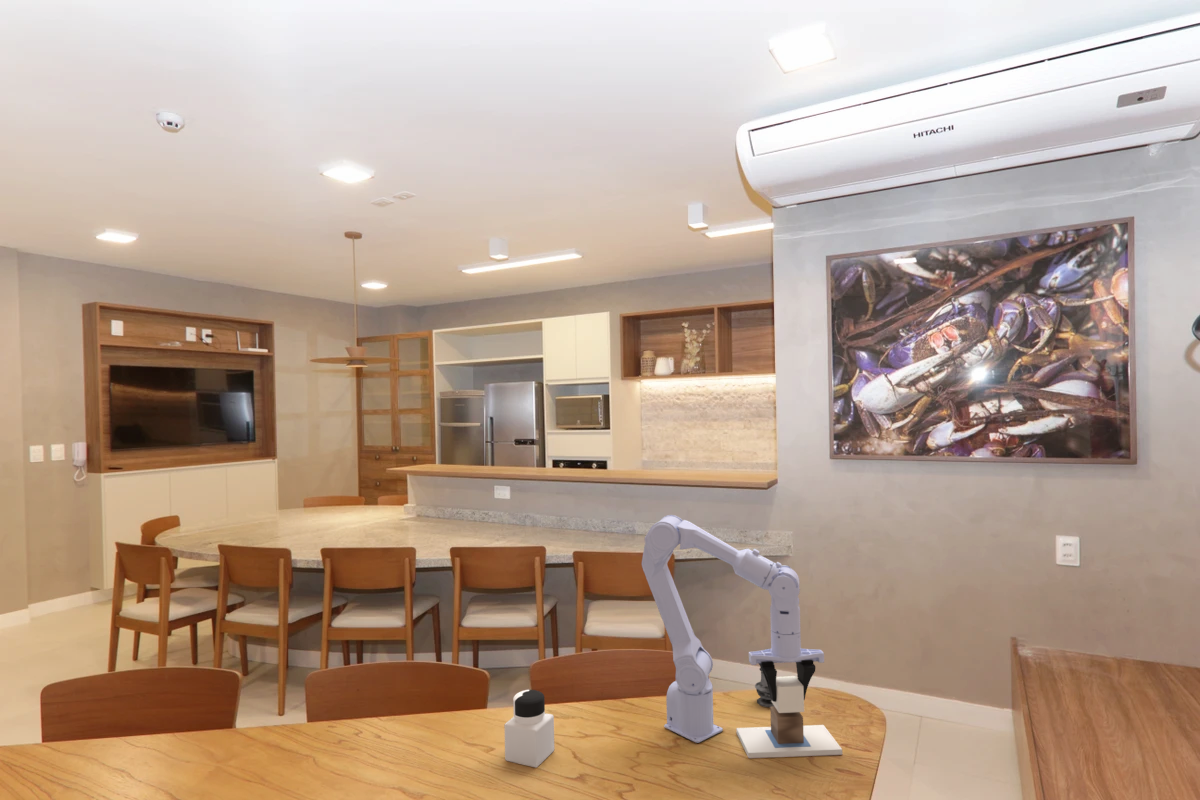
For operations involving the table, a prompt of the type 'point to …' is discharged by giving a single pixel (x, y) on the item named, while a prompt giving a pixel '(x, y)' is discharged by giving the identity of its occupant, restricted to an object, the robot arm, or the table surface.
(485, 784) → the table surface
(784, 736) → the walnut block
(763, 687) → the grey tall round piece
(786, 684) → the cream block
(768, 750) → the board
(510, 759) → the medicine bottle
